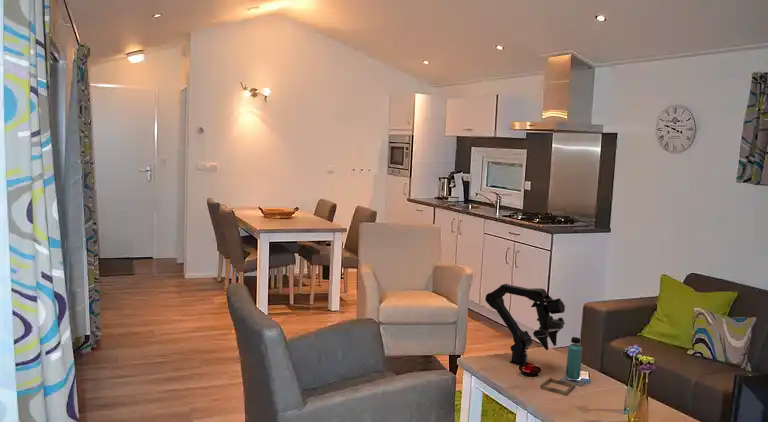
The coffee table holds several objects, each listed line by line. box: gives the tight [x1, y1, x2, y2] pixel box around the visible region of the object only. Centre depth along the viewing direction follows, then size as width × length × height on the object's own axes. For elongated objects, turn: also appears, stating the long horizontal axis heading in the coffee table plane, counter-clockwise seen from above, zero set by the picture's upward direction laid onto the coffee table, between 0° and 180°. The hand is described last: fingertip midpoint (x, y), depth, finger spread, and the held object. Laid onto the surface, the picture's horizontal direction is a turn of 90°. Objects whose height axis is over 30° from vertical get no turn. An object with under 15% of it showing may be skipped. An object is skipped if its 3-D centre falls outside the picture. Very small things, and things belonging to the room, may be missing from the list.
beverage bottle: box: [565, 336, 583, 379], centre depth 299 cm, size 6×7×20 cm
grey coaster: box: [559, 374, 587, 387], centre depth 301 cm, size 10×10×1 cm
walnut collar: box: [539, 377, 576, 396], centre depth 291 cm, size 12×12×2 cm
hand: (551, 347), depth 309 cm, fingers open, 9 cm apart
